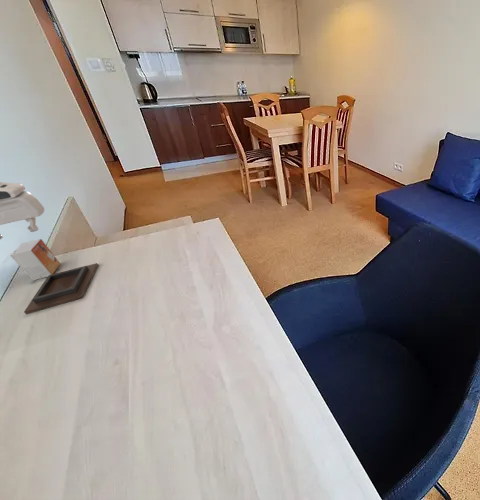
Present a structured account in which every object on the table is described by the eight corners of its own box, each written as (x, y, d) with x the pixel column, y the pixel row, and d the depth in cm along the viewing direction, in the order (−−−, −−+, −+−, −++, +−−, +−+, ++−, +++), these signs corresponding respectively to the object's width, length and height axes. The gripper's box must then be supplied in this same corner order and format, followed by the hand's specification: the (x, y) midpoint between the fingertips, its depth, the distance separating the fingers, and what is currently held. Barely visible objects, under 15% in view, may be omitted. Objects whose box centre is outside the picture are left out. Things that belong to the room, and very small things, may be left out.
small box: (52, 276, 101) (30, 250, 95) (32, 281, 100) (9, 255, 93) (61, 263, 107) (41, 238, 101) (42, 267, 106) (21, 242, 100)
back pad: (26, 314, 86) (19, 308, 85) (50, 277, 100) (45, 272, 99) (82, 298, 90) (77, 292, 89) (98, 265, 104) (94, 259, 102)
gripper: (-73, 208, 82) (-30, 249, 90) (18, 190, 87) (51, 230, 95) (-57, 199, 87) (-19, 239, 95) (28, 182, 92) (58, 221, 100)
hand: (17, 234), depth 95 cm, fingers open, 8 cm apart
